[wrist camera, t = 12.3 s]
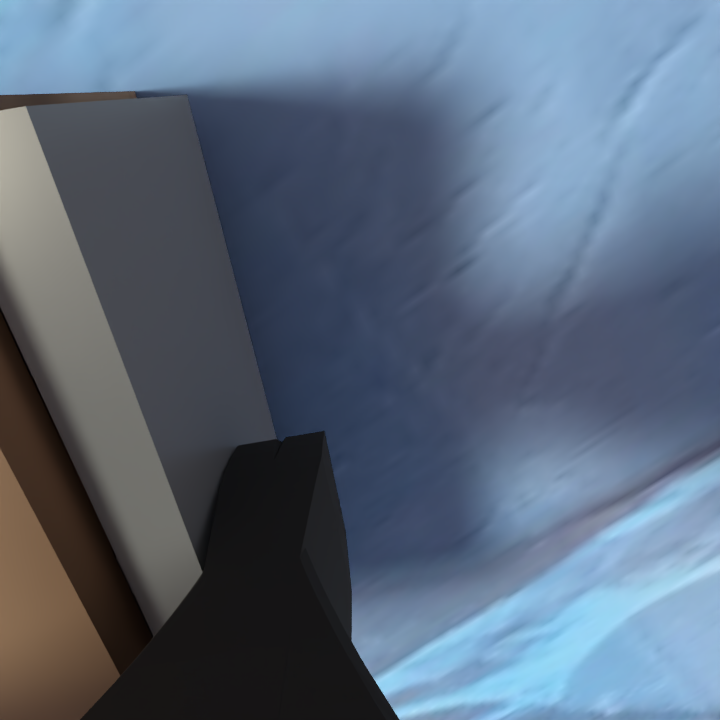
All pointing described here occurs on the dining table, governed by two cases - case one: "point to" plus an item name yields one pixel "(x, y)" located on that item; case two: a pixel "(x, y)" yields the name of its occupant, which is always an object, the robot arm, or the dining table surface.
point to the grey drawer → (130, 323)
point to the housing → (53, 551)
